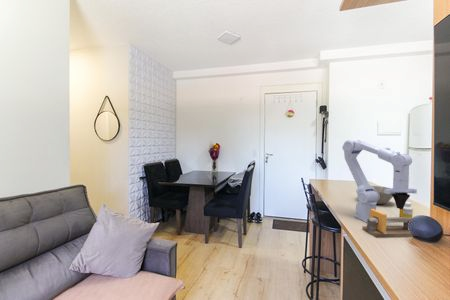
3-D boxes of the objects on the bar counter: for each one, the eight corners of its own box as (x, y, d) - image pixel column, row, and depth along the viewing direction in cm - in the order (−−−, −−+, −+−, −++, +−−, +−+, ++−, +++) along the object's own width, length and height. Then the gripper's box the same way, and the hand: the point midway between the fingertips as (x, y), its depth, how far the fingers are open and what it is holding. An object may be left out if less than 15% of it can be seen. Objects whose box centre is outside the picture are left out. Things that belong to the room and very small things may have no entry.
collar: (369, 225, 106) (370, 208, 106) (372, 225, 106) (373, 208, 106) (382, 232, 98) (383, 214, 98) (385, 232, 98) (386, 214, 98)
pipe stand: (362, 229, 106) (362, 214, 106) (401, 228, 108) (402, 214, 108) (376, 237, 98) (377, 221, 97) (419, 236, 99) (419, 220, 99)
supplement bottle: (399, 217, 123) (400, 200, 123) (412, 220, 120) (412, 202, 119) (399, 220, 119) (399, 202, 119) (412, 223, 116) (413, 204, 115)
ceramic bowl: (382, 199, 163) (383, 185, 163) (404, 208, 140) (405, 192, 140) (350, 197, 165) (351, 184, 165) (367, 207, 143) (367, 191, 142)
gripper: (393, 181, 101) (392, 211, 101) (423, 181, 102) (422, 210, 102) (381, 179, 108) (380, 206, 108) (409, 178, 109) (408, 206, 109)
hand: (399, 208), depth 106 cm, fingers closed
